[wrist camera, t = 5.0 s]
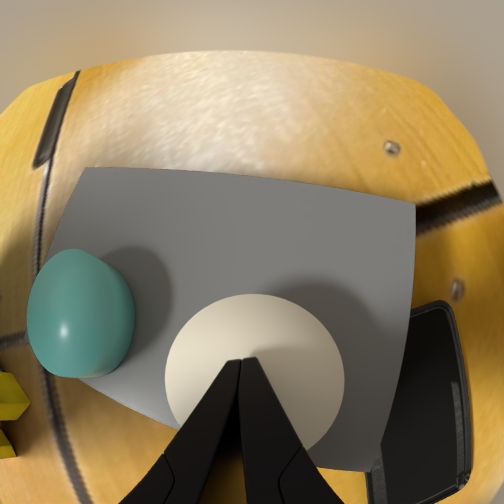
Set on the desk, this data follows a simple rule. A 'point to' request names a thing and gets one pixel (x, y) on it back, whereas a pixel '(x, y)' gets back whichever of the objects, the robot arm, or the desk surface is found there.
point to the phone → (426, 417)
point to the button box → (253, 277)
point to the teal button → (80, 315)
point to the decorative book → (10, 408)
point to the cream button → (260, 359)
